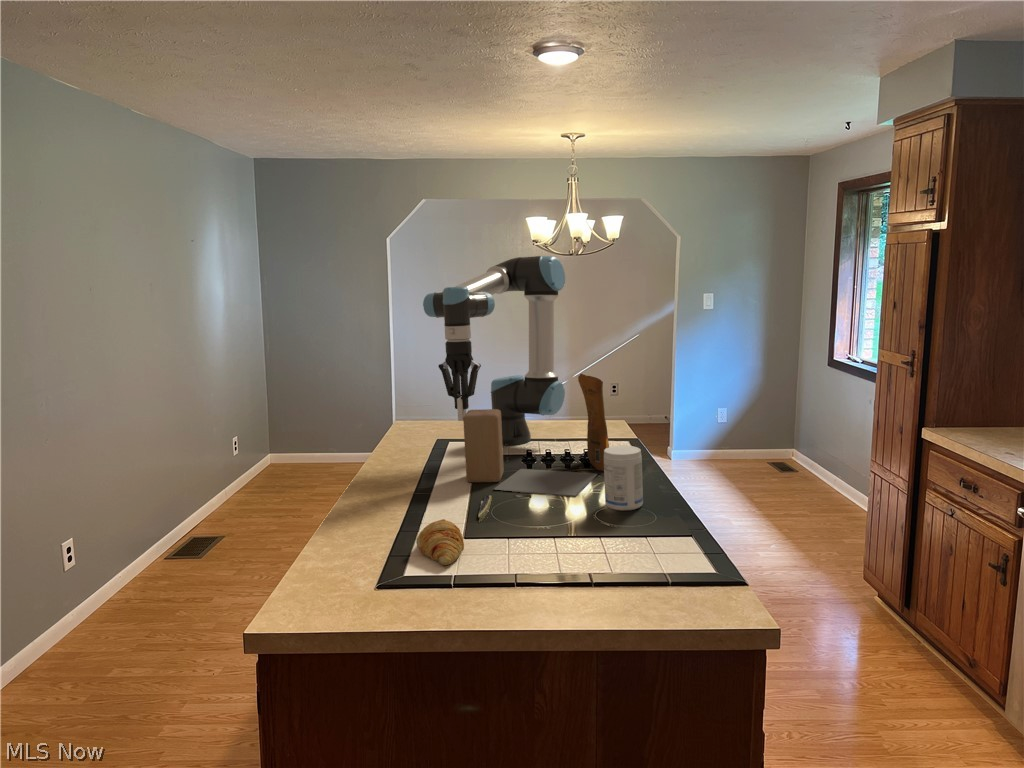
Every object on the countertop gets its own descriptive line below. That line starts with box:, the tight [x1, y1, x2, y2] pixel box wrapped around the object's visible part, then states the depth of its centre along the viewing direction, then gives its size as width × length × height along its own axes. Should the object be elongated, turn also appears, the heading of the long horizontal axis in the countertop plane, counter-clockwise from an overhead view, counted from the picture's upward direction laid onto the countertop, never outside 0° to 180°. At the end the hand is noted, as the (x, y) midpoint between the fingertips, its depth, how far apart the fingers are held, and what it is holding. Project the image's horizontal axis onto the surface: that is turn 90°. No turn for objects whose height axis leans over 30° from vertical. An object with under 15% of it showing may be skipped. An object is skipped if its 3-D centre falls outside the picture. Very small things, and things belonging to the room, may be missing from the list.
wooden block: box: [462, 408, 505, 483], centre depth 220 cm, size 10×10×20 cm
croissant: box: [415, 519, 465, 566], centre depth 165 cm, size 21×10×8 cm, turn 14°
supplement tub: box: [603, 445, 644, 512], centre depth 190 cm, size 10×10×15 cm
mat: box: [493, 468, 598, 498], centre depth 215 cm, size 22×24×1 cm
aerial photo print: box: [478, 494, 532, 524], centre depth 192 cm, size 25×19×2 cm
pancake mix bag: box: [577, 373, 610, 472], centre depth 230 cm, size 7×19×28 cm, turn 8°
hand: (462, 419), depth 222 cm, fingers closed
